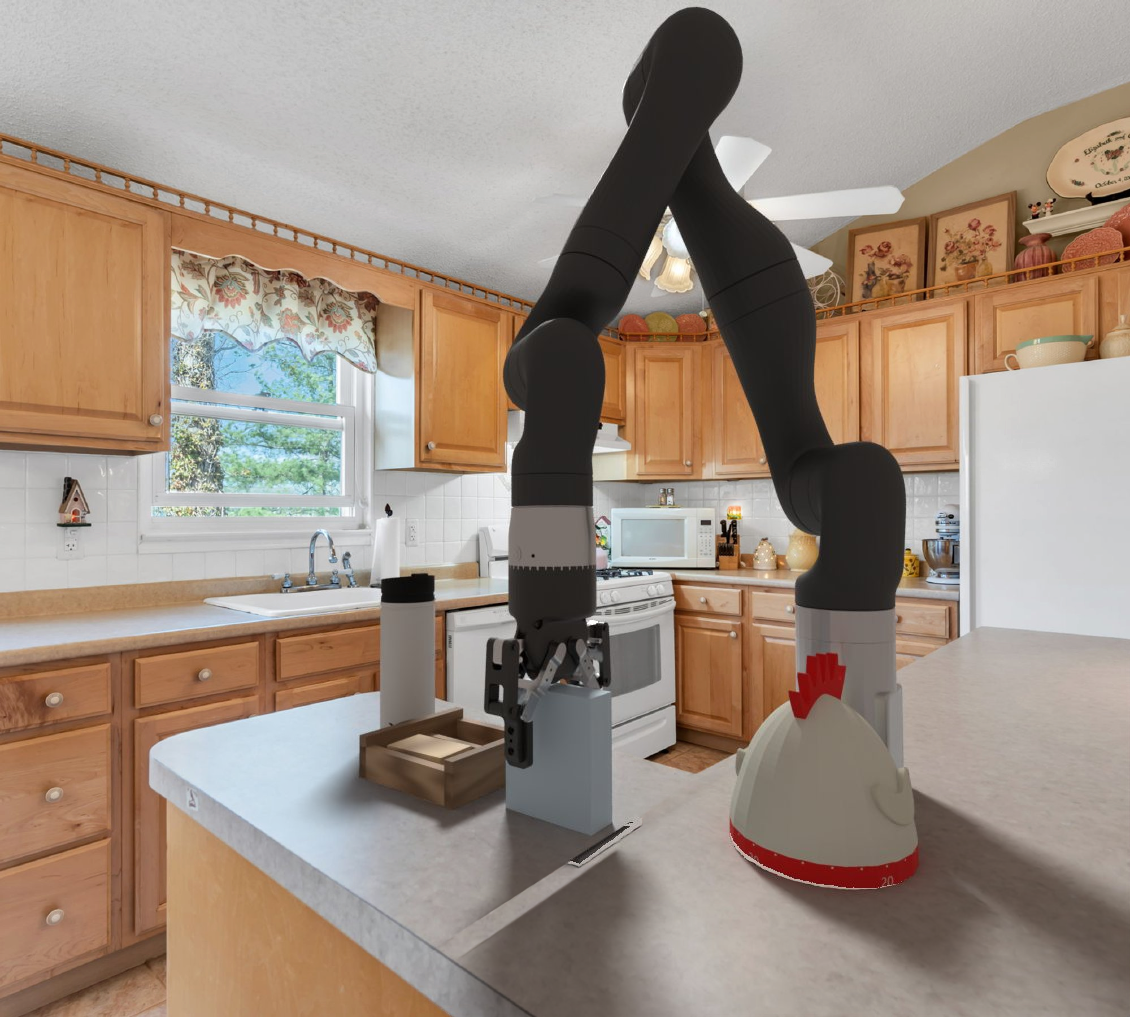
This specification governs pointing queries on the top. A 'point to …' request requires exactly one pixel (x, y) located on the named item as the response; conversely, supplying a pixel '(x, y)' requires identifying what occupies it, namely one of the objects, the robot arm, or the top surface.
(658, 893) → the top surface
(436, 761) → the offcut upper
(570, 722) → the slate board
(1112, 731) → the top surface
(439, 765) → the rack
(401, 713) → the travel mug
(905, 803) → the kitchen timer
